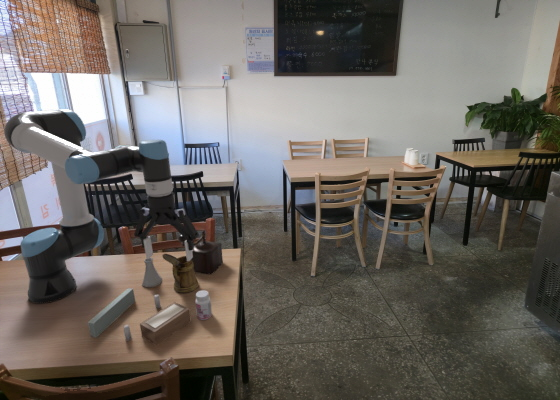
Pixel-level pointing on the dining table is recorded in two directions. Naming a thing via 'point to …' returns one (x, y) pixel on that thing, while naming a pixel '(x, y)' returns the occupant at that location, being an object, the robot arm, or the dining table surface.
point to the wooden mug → (182, 273)
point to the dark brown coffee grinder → (205, 255)
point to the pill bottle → (203, 305)
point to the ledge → (115, 313)
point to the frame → (165, 323)
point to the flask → (151, 274)
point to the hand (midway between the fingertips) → (169, 258)
